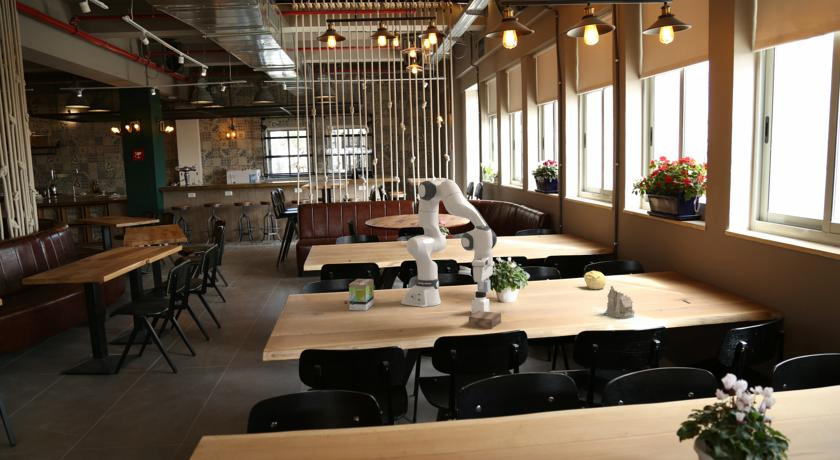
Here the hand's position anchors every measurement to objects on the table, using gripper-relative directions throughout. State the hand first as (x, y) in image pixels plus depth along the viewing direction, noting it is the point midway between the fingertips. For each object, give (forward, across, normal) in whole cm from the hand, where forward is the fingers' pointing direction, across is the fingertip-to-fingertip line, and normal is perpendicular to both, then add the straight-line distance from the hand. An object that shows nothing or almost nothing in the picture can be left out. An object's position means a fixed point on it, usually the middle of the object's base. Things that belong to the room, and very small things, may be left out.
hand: (483, 287), depth 297 cm
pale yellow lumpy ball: (+18, -93, +41) cm, 103 cm away
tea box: (+18, -11, -74) cm, 77 cm away
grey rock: (+19, -38, +61) cm, 75 cm away
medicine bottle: (+18, -19, -8) cm, 28 cm away
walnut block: (+19, 0, 0) cm, 19 cm away
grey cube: (+2, 0, 0) cm, 2 cm away
